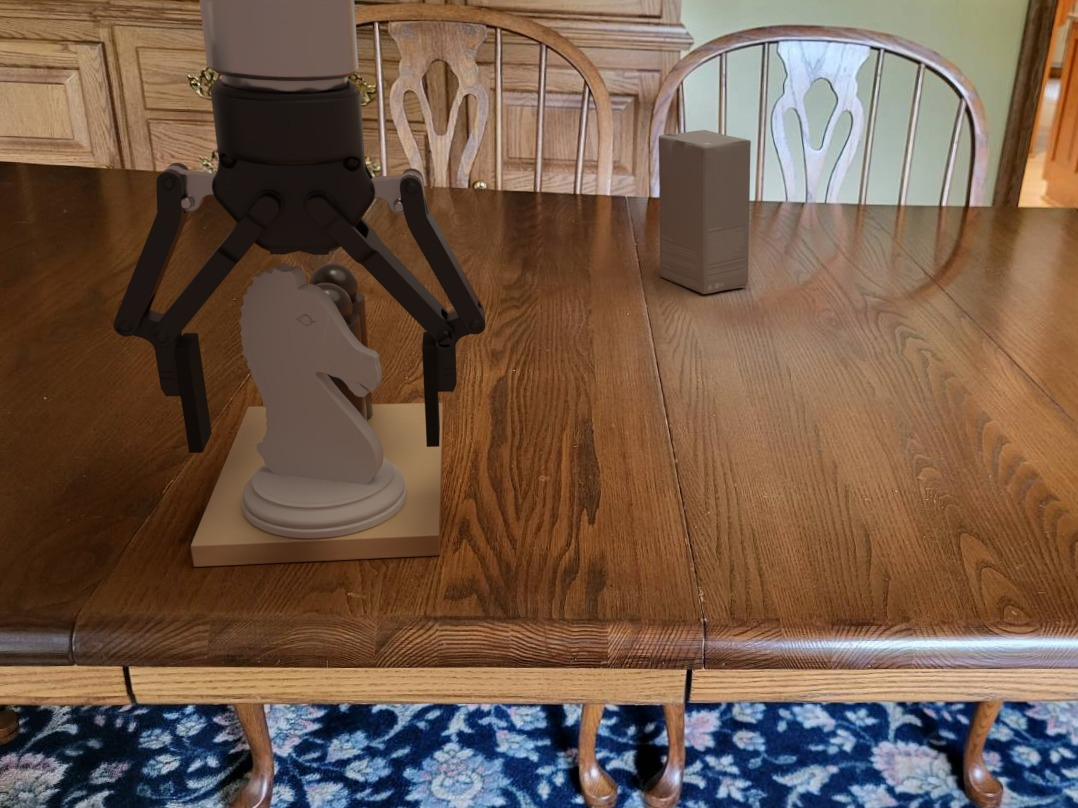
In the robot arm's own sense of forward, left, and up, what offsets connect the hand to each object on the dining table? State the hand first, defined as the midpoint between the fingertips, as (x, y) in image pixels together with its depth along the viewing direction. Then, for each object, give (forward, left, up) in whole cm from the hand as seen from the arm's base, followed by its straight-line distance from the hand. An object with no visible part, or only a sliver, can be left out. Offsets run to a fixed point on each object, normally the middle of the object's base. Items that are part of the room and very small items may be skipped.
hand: (319, 440), depth 67 cm
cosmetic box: (+34, +50, -6) cm, 61 cm away
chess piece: (0, 0, -4) cm, 4 cm away
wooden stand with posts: (0, +5, -6) cm, 8 cm away
